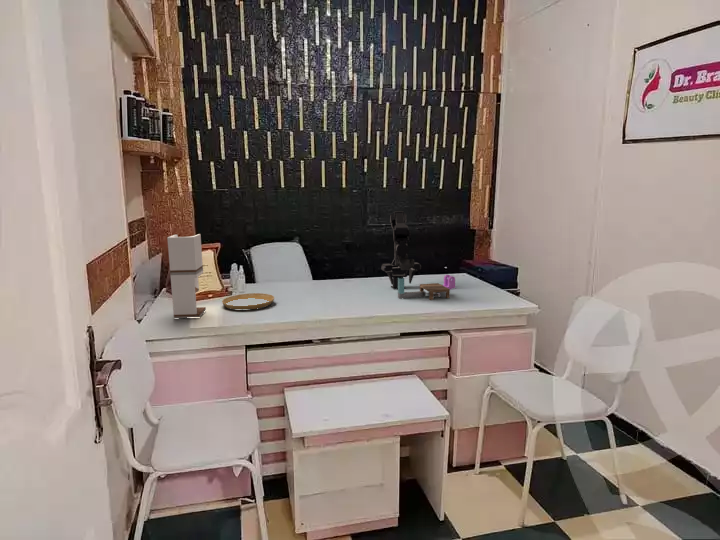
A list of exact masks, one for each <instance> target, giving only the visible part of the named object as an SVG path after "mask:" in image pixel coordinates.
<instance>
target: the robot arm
mask: <svg viewBox="0 0 720 540" xmlns="http://www.w3.org/2000/svg"><path fill="white" fill-rule="evenodd" d="M389 216H390V217H389V223H390V225H391V228H392V231H393V232H392V233H393V242H394V244H393V245H394V246H393V247H394V254H393V255H394V257H393V260H392V262H391V263H382V264H381V268H380V270H381V271H383V272H385V273H386V274H387V277H388V279H389V281H390V284H391V285H390V288H391V289H393V290H398V278H407V277H408V283H409V284H412V281H413V279H414V276H415V274H416V273H417V272H419V271H420V270H421V269H422V265H421V263H419V262H415V259H413V258H411V259H409V256H408V254H409V251H410V247H409V246H408V242H409V243H411V240H412V235H411V234H412V233H411V231H410V229H409V226H408V225H407V224H406V223H407V213H405V211H402V210H395V211H394V212H393V213H391V214H390V215H389ZM408 271H409V272H408ZM405 289H406V286H404V290H405Z"/></svg>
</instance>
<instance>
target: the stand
mask: <svg viewBox="0 0 720 540" xmlns="http://www.w3.org/2000/svg"><path fill="white" fill-rule="evenodd" d="M443 285H444V284H440V282H437V283H436V282H435V283H434V282H433V283H432V282H431V283H421V284H420V283H419V291H427V292H428V293H429V295H428V300H430V301H433V300H434V297H433V293H437V292H439V293H445V299H446V298H450V297H451V296H450V294H451V293H450V292H451V289H448V288H446V287H445V286H443Z"/></svg>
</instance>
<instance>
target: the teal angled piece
mask: <svg viewBox="0 0 720 540" xmlns="http://www.w3.org/2000/svg"><path fill="white" fill-rule="evenodd" d="M404 287H405V277H403V278H398V289H397V299H398V300H399V299H400V300H402V298H403V299H417V298H416V297H418V298H426V297H427V292H426V290H424V291H420V290H417V291H406V292H405V289H404Z"/></svg>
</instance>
